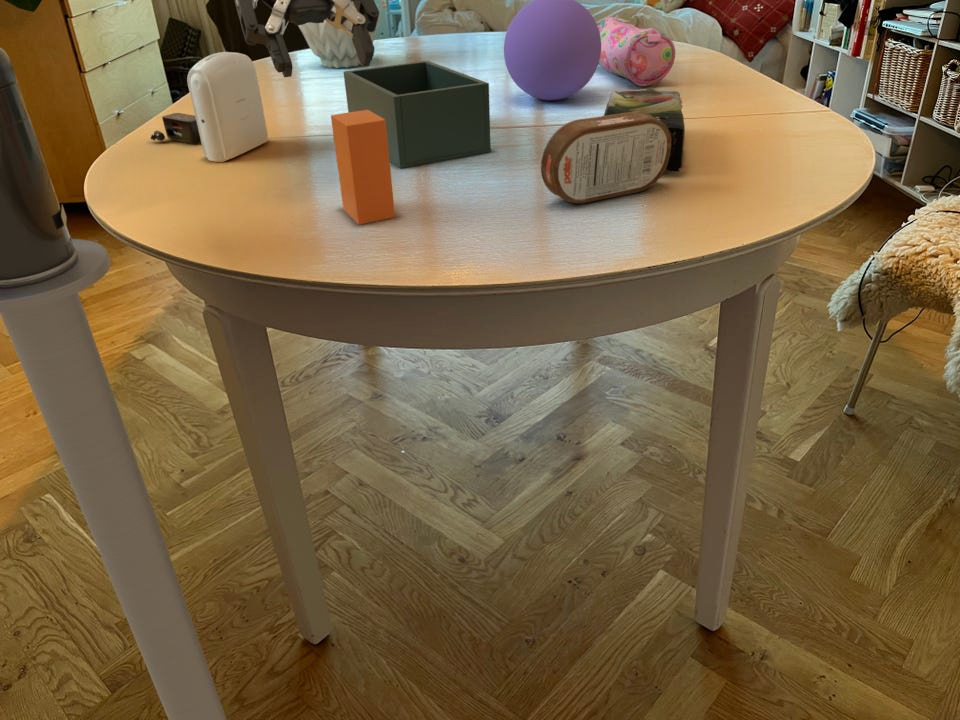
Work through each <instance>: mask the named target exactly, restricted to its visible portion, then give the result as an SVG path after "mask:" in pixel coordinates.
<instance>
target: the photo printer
mask: <svg viewBox="0 0 960 720" xmlns="http://www.w3.org/2000/svg"><path fill="white" fill-rule="evenodd" d="M186 79H187V81H186V83H187V87H188V91H189V96H190V100H191V104H192V108H193V112H194V116H195V117H196V121H197V125H198V130H199V134H200V138H201V143H200V144H201V147H202V151H203V155H204V157H205V158H207V160H208V161H210V162H214V163H224V162H226V161H229V160H231V159H234V158H236V157H238V156H240V155H243V154H244V153H246V152H248V151H251V150H253V149H255V148H257V147H260V146H261V145H263V144H265V143H267V142H268V141H269V133H268V127H267V122H266V116H265V112H264V111H265V110H264V106H263V105H264V104H263V101H262V95H261V90H260V85H259V80H258V73H257V68H256V66H255V64H254V62H253V60H252V59H251V58H250V57H249V56H248V55H246V54H244V53H240V52H232V51H230V52H229V51H221V52H220V51H219V52H216V53H215V52H214V53H212V54H209V55H207V56H205V57H204V58H202V59H200V60H198V62H196V63H194V65H193V66H192V67H191V68H190V70H189V71H188V73H187V78H186Z"/></svg>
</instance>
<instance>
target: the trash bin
mask: <svg viewBox="0 0 960 720" xmlns="http://www.w3.org/2000/svg"><path fill="white" fill-rule="evenodd" d="M343 81H344V88H345V97H346V103H347V113H349V112H355V111H362V110H369V111H371V112H373V113H375V114H376V115H378V116H380V117H382V118H383V119H385V120H386V129H387V140H388V150H389V160H390V163H392V164H393V165H395V166H396V167H398V168H399V169H405V168H411V167H415V166H420V165H421V166H422V165H426V164H427V165H428V164H432V163H436V162H437V163H438V162H442V161H447V160H454V159H459V158H464V157H469V156H474V155H480V154H486V153H491V152H492V151H491V150H492V148H491V116H490V115H491V113H490V111H491V110H490V84H489V82H486V81H484V80H482V79H478V78H476V77H473V76H470V75H467V74H465V73H462V72H460V71H457V70H454V69H451V68H448V67H446V66H443V65H440V64H438V63H435V62H433V61H430V60H420V61H415V62H406V63H398V64H391V65H383V66H382V65H381V66H376V67H366V68H361V69H360V68H359V69H353V70H345V71H343Z"/></svg>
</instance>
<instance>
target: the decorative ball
mask: <svg viewBox="0 0 960 720" xmlns="http://www.w3.org/2000/svg"><path fill="white" fill-rule="evenodd" d="M509 23H510V24H509V26H508V27H507V30H506V33H505V38H504V42H503V57H504V63H505V67H506V69H507V72H508V74H509V76H510V78H511V79H512V81H513V82H514V84H515V85H516V86H517V87H518V88H519V89H520V90H521V91H523V92H524V93H525V94H526V95H529V96H531V97H532V98H535V99H539V100H542V101H559V100H564V99H567V98H569V97H571V96H574V95H575V94H577V93H578V92H580V91H581V90H582V89H583V88H584V87H586V86H587V85H588V84H589V82H590V81H591V79H592V78H593V76H594V75H595V73H596V71H597V69H598V66H599V60H600V55H601V37H600V32H599V29H598V23H597V21H596V20H595V18H594V17H593V15H592V14H591V12H590V11H589V10H588V9H587V8H586V7H585V6H584V5H583V4H582V3H580V2H578V1H577V0H532V1H530V2H528V3H526V4H525V5H524V6H523V7H522V8H520V9H519V10H518V12H517V13H516V14H515V15H514V17H513V18H512V19H511V22H509Z"/></svg>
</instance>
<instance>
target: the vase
mask: <svg viewBox="0 0 960 720" xmlns="http://www.w3.org/2000/svg"><path fill="white" fill-rule="evenodd" d="M348 2H349V4H350V6H351V7H352V8H354V9H355V10H356V7H355V5H354V3H353V1H351V2H350V1H349V0H348ZM332 11H333V12H335V13H336V8H335V6H333V9H332ZM356 11H357V10H356ZM380 21H381V15H380V14H379V17H378V21H377V25H376V29H375V31H374V32H369V35H370V37H371V40H372V43H373V44H374V42H375V37H376V33H377V30H378V26H379V24H380ZM297 27H298V29H299V31H300V32H301V34H302V36H303V37H304V40H305V41H306V43H307V46H308V47H309V48H310V50H311V51H312V54H313V55H314V56H316V57H318V58H319V59H320V62H321V65H322V67H325V68H329V69H332V68H333V69H334V68H336V69H340V68H348V69H349V68H351V67H358V66H362V65H361V63H360V60H359V58H358V55H357V52H356V50H355V47H354V44H353V42H352V36H351V35H349V34H348V33H347V32H345V31H344V30H343V29H341V28H340V29H336V28H335V27H334V26H332V25H331V24H330V23H328V22H327V21H325V20H324V23H306V24H303V25H297Z"/></svg>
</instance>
